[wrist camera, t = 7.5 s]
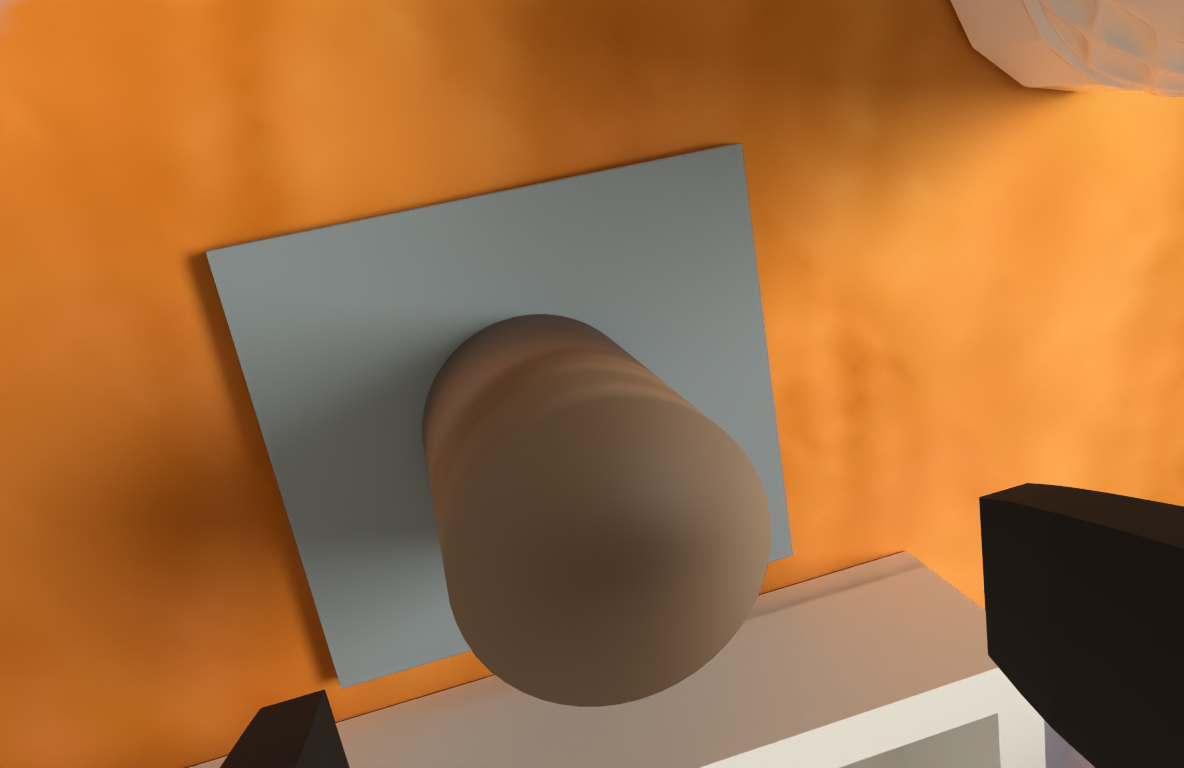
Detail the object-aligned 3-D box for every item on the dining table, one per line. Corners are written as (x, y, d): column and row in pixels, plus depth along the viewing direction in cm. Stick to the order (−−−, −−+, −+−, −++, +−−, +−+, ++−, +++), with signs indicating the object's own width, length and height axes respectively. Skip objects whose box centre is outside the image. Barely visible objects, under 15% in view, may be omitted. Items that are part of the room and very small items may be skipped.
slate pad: (733, 143, 17) (742, 143, 17) (785, 547, 20) (792, 555, 20) (209, 249, 16) (205, 251, 15) (341, 677, 18) (341, 689, 18)
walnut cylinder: (628, 292, 17) (752, 362, 12) (661, 500, 19) (787, 655, 13) (397, 342, 16) (410, 443, 11) (449, 556, 18) (484, 746, 12)
